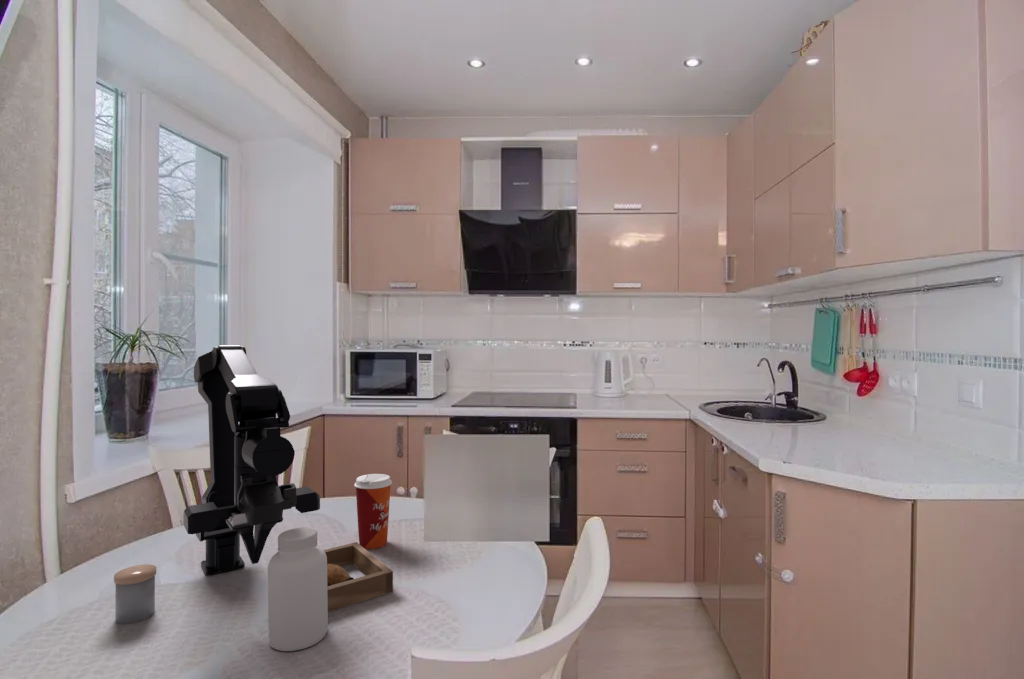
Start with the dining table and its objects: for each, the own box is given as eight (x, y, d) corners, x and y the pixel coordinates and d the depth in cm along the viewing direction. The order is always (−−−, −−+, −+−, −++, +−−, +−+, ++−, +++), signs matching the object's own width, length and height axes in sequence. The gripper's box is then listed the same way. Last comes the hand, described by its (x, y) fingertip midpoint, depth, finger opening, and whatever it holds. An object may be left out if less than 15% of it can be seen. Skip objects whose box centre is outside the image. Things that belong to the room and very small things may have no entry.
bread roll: (291, 586, 94) (291, 565, 94) (337, 572, 100) (337, 552, 100) (316, 608, 86) (316, 585, 86) (364, 591, 92) (364, 569, 92)
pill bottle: (279, 623, 80) (279, 524, 80) (333, 621, 81) (333, 523, 81) (258, 654, 72) (258, 544, 73) (319, 652, 73) (319, 542, 73)
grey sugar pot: (113, 613, 83) (113, 570, 83) (155, 603, 87) (155, 561, 87) (114, 628, 79) (114, 582, 79) (157, 617, 82) (157, 573, 82)
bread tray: (273, 581, 94) (273, 561, 94) (356, 560, 104) (356, 542, 104) (301, 620, 81) (301, 597, 81) (392, 591, 91) (392, 571, 91)
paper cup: (382, 552, 107) (382, 483, 107) (347, 549, 109) (347, 481, 109) (398, 538, 115) (398, 473, 115) (365, 536, 116) (365, 471, 116)
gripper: (193, 484, 72) (193, 600, 72) (331, 464, 83) (331, 564, 83) (183, 468, 80) (182, 572, 80) (309, 452, 92) (309, 543, 92)
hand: (254, 562), depth 84 cm, fingers closed
